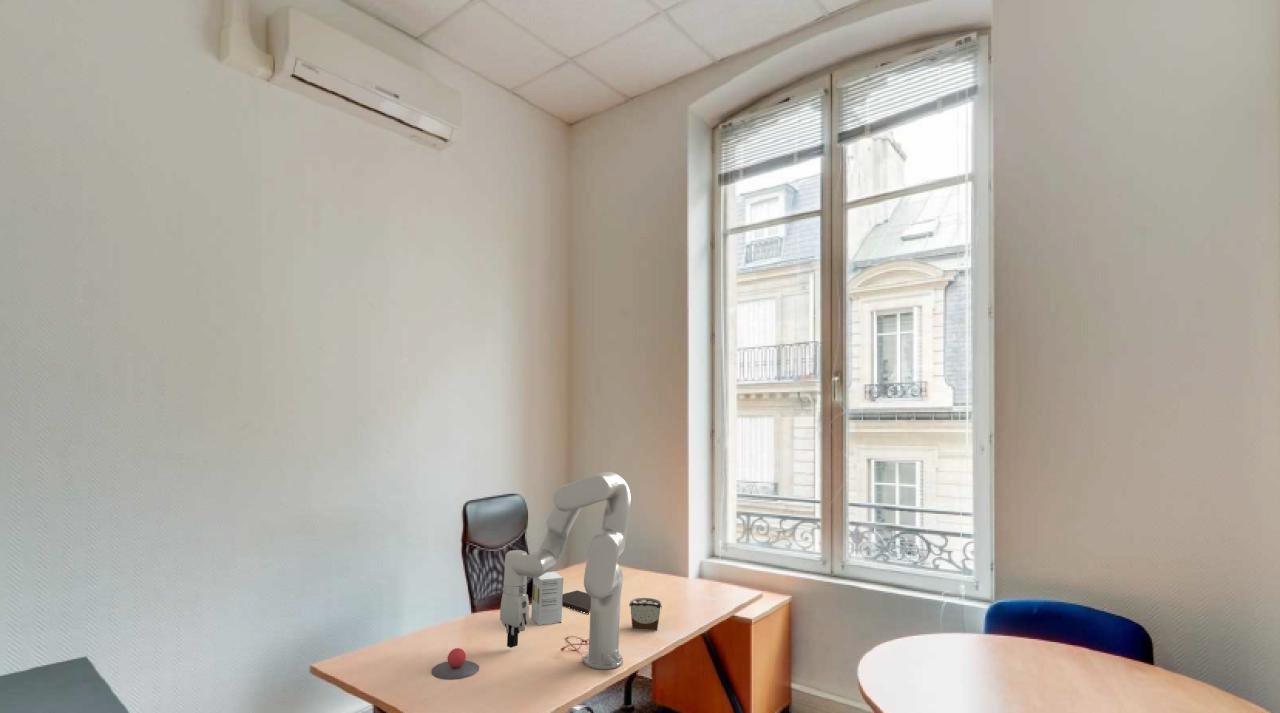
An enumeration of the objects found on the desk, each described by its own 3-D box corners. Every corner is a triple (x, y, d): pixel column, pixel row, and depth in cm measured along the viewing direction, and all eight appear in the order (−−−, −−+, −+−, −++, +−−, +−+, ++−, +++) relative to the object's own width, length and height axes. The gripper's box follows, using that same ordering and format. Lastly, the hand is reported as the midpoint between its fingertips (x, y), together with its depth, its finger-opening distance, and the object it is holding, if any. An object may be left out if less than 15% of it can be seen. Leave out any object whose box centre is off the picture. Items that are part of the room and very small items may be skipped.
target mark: (485, 673, 193) (485, 673, 193) (438, 682, 186) (438, 682, 186) (471, 657, 205) (471, 657, 205) (426, 665, 198) (426, 665, 198)
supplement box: (530, 618, 246) (532, 573, 247) (553, 615, 250) (555, 571, 251) (538, 626, 237) (540, 579, 239) (562, 623, 241) (564, 577, 243)
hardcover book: (577, 595, 280) (577, 590, 280) (616, 607, 265) (616, 601, 265) (549, 603, 267) (549, 597, 268) (588, 616, 252) (588, 610, 253)
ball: (467, 649, 197) (452, 662, 193) (471, 662, 199) (456, 675, 195) (456, 641, 200) (442, 653, 196) (460, 653, 202) (445, 666, 199)
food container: (662, 625, 242) (663, 598, 243) (661, 631, 236) (662, 603, 237) (629, 623, 243) (630, 596, 244) (628, 629, 237) (629, 601, 238)
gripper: (538, 591, 212) (536, 649, 211) (509, 582, 222) (506, 637, 220) (521, 596, 206) (518, 655, 205) (491, 586, 216) (488, 643, 214)
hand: (512, 646), depth 212 cm, fingers closed
